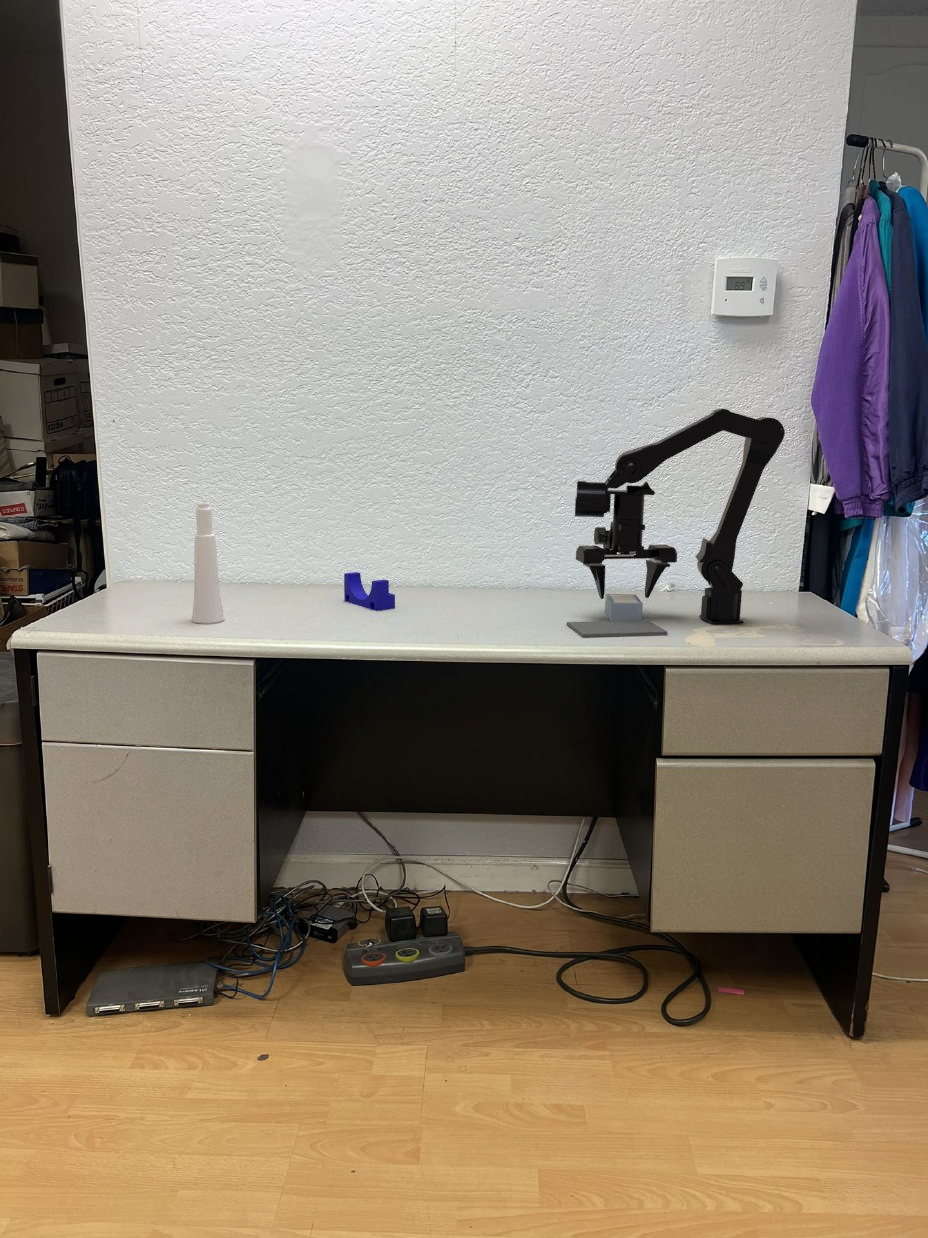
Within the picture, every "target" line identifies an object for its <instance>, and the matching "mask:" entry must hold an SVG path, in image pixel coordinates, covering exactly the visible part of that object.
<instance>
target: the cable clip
mask: <svg viewBox="0 0 928 1238" xmlns="http://www.w3.org/2000/svg"><path fill="white" fill-rule="evenodd" d="M389 581H390V580H388V579H377V580H371V587H370V591H369V594H368V593H367V592H366V591H365V589H364V585H363V582H362V576H361V572H358V571H355V572H354V571H353V572H346V573H345V572H344V573H343V585H344V586H343V589H344V590H343V595H344V602H346V603H349V604H353V605H356V606H359V607H363V608H365V609H368V610H372V611H374V612H377V611H378V612H379V611H387V610H392V609H393V610H394V609H396V594H395V593H394V594H393V593H391V592H390V591H389V590H390V582H389Z"/></svg>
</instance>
